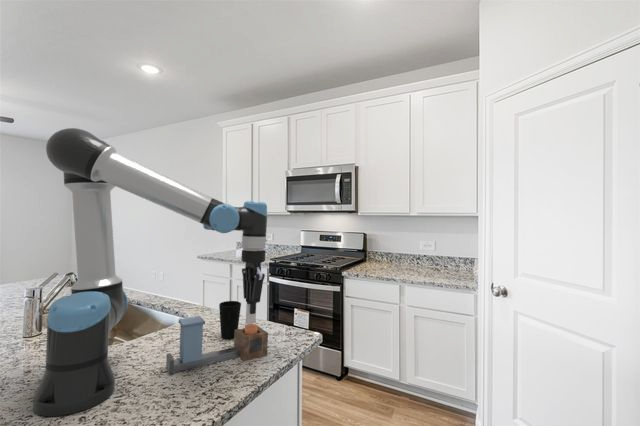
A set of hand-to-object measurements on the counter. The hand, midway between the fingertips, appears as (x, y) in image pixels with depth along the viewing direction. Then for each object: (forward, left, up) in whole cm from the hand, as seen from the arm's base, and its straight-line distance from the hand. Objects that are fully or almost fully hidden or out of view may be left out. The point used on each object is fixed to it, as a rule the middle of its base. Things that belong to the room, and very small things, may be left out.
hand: (250, 322), depth 100 cm
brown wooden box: (0, 0, -10) cm, 10 cm away
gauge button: (0, 0, -5) cm, 5 cm away
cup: (-1, +17, -10) cm, 20 cm away
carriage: (-18, +1, -7) cm, 19 cm away
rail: (-13, +1, -10) cm, 16 cm away
